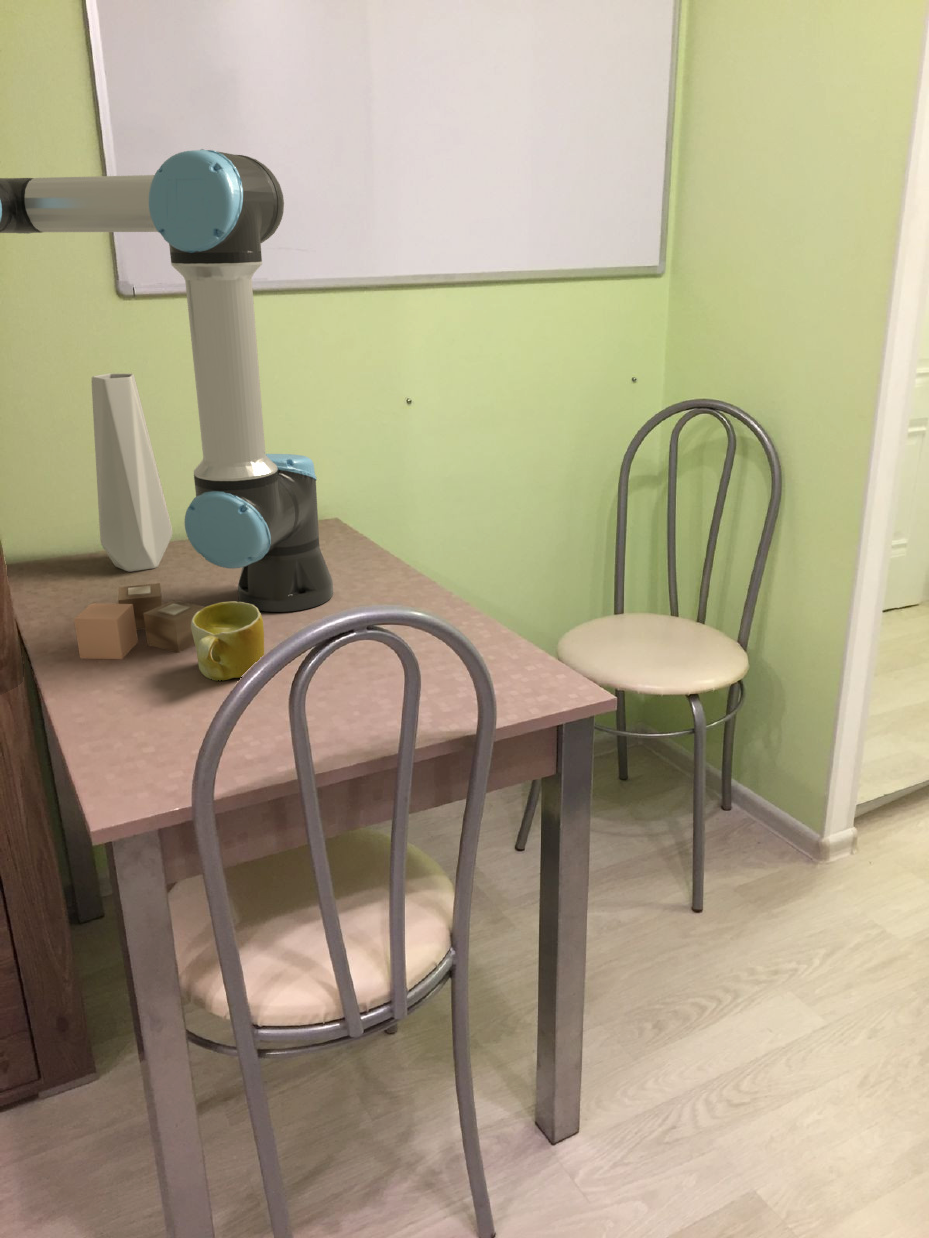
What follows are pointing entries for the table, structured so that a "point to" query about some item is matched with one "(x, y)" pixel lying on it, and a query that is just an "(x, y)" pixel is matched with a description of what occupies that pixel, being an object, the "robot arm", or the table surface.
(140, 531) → the vase
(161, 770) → the table surface
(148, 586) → the walnut block
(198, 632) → the mug
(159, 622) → the walnut block
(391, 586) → the table surface
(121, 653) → the plain block
